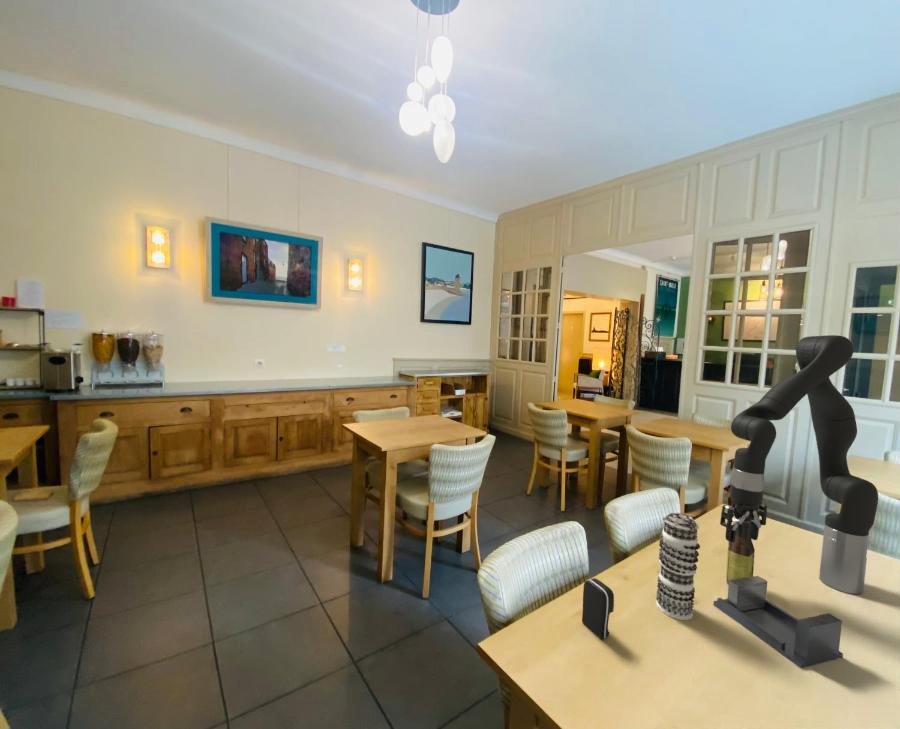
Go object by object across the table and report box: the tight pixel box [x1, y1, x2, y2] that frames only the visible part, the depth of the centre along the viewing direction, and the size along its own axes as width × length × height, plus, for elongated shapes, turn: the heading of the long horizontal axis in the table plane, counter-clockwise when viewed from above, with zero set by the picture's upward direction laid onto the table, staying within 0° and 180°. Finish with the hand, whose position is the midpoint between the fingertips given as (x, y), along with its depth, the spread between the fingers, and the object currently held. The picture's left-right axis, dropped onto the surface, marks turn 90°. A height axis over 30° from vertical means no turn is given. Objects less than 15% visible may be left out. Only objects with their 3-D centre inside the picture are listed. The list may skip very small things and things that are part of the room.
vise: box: [712, 597, 844, 669], centre depth 97 cm, size 13×21×9 cm, turn 15°
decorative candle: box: [655, 512, 701, 621], centre depth 103 cm, size 9×9×25 cm
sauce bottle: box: [725, 517, 756, 586], centre depth 114 cm, size 7×6×20 cm
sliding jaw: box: [726, 575, 768, 611], centre depth 103 cm, size 10×2×7 cm, turn 105°
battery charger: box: [581, 578, 615, 640], centre depth 95 cm, size 7×4×11 cm, turn 26°
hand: (741, 540), depth 114 cm, fingers open, 8 cm apart
